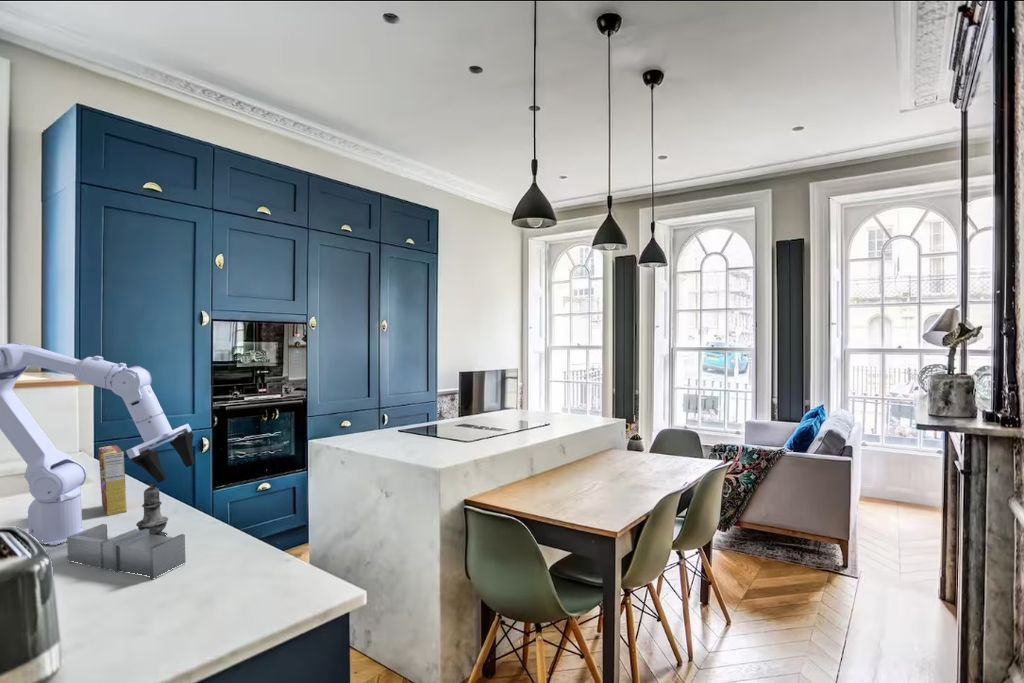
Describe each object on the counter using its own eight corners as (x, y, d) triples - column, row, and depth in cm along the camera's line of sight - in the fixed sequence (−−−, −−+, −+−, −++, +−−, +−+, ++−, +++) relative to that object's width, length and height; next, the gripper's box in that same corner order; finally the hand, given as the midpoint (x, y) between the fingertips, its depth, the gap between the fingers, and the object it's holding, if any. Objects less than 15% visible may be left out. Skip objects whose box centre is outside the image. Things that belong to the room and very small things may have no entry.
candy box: (100, 507, 139) (97, 447, 138) (120, 503, 142) (118, 444, 141) (105, 516, 132) (103, 453, 131) (127, 512, 135) (125, 450, 134)
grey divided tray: (65, 562, 108) (64, 533, 107) (103, 547, 115) (102, 520, 114) (153, 579, 101) (152, 548, 101) (188, 562, 108) (187, 533, 108)
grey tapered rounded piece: (153, 544, 116) (151, 488, 116) (129, 541, 118) (127, 486, 117) (175, 533, 122) (173, 480, 122) (152, 531, 123) (151, 478, 123)
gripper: (131, 425, 114) (160, 484, 115) (189, 402, 127) (214, 455, 129) (109, 434, 116) (138, 491, 118) (168, 411, 130) (193, 462, 131)
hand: (176, 473), depth 123 cm, fingers open, 7 cm apart
